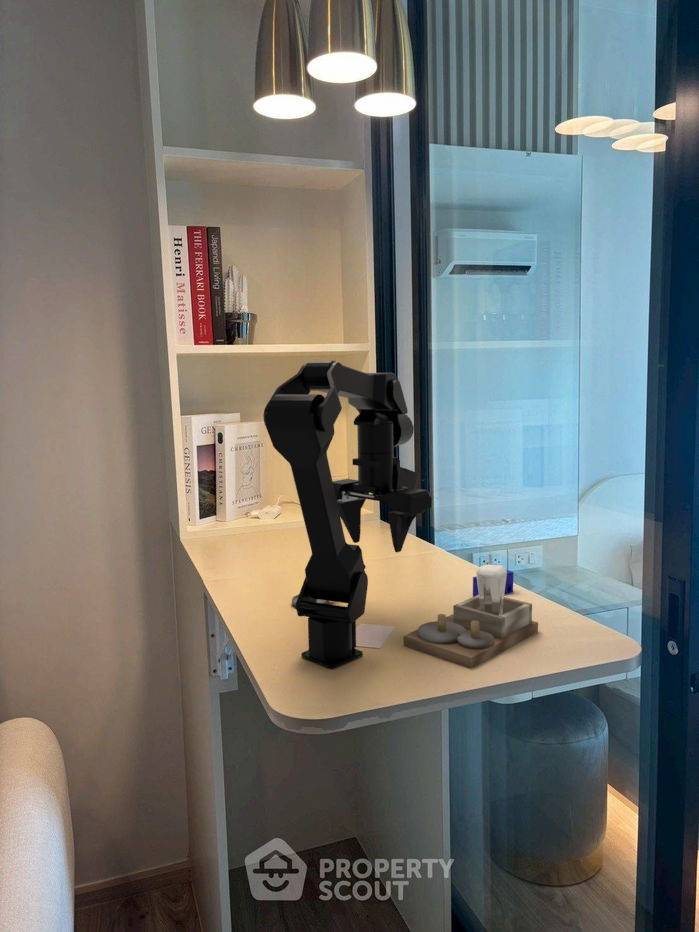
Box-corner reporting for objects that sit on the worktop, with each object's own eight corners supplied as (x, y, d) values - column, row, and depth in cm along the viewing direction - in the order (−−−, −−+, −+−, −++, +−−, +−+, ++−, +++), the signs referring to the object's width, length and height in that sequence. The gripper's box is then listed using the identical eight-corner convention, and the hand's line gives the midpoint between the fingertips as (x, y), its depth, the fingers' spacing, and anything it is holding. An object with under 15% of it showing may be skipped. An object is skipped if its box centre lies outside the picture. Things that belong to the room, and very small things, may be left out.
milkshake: (504, 616, 112) (505, 554, 110) (507, 628, 107) (508, 564, 105) (475, 615, 113) (475, 554, 111) (476, 627, 107) (477, 563, 106)
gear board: (471, 668, 97) (471, 636, 96) (403, 645, 105) (403, 616, 105) (537, 631, 110) (538, 603, 109) (473, 613, 118) (473, 587, 117)
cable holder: (499, 588, 132) (499, 567, 131) (513, 593, 129) (513, 572, 128) (467, 596, 127) (467, 575, 127) (480, 601, 125) (480, 579, 124)
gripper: (453, 451, 112) (453, 547, 114) (367, 443, 125) (369, 529, 128) (407, 458, 104) (408, 561, 107) (321, 449, 118) (323, 541, 120)
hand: (376, 547), depth 115 cm, fingers open, 9 cm apart
